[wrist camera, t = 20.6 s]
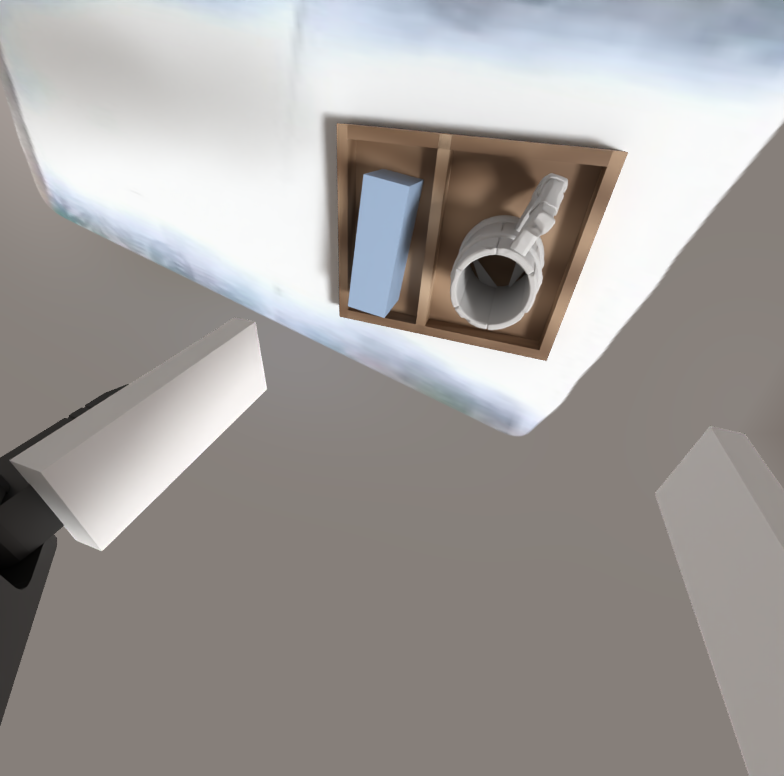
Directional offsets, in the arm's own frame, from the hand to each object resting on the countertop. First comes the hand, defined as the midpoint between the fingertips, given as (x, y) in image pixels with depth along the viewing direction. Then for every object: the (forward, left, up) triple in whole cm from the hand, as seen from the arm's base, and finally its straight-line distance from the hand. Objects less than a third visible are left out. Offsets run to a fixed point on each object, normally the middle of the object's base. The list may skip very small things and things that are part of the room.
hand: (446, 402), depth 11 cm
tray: (+3, -4, -29) cm, 29 cm away
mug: (+1, +1, -28) cm, 28 cm away
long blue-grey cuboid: (+3, -11, -28) cm, 30 cm away
